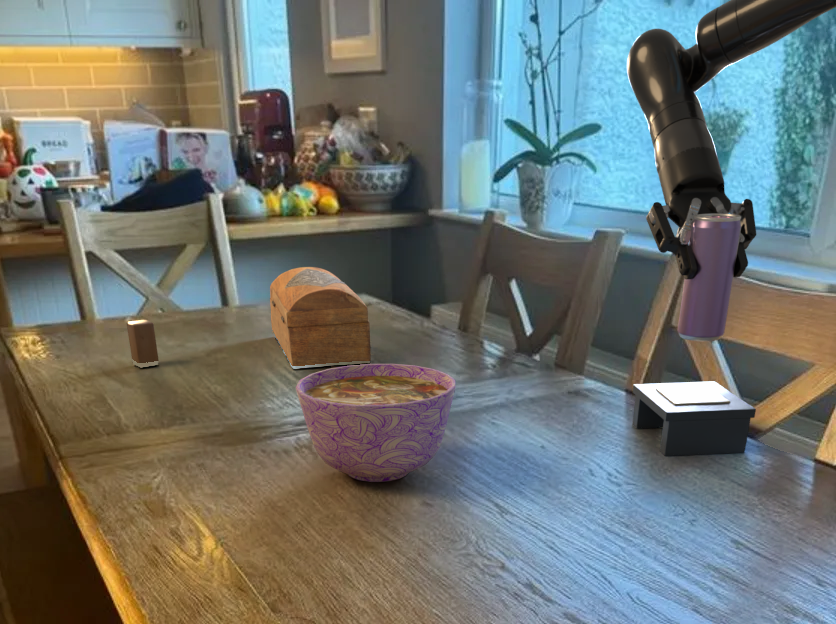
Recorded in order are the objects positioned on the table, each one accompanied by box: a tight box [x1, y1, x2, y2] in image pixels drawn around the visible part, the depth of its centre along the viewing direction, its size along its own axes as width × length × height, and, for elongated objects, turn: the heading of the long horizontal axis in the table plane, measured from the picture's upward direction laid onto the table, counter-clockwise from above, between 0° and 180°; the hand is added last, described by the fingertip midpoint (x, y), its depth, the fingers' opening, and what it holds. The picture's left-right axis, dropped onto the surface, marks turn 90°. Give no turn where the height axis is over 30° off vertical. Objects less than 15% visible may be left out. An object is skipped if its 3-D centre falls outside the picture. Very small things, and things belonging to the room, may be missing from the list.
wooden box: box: [269, 266, 372, 366], centre depth 176 cm, size 30×16×14 cm, turn 12°
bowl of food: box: [295, 363, 457, 483], centre depth 115 cm, size 20×20×12 cm
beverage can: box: [677, 213, 741, 342], centre depth 117 cm, size 6×6×15 cm
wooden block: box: [126, 319, 160, 363], centre depth 168 cm, size 4×4×8 cm
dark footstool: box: [631, 380, 757, 457], centre depth 126 cm, size 12×14×6 cm
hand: (715, 274), depth 115 cm, fingers closed on beverage can, 6 cm apart
